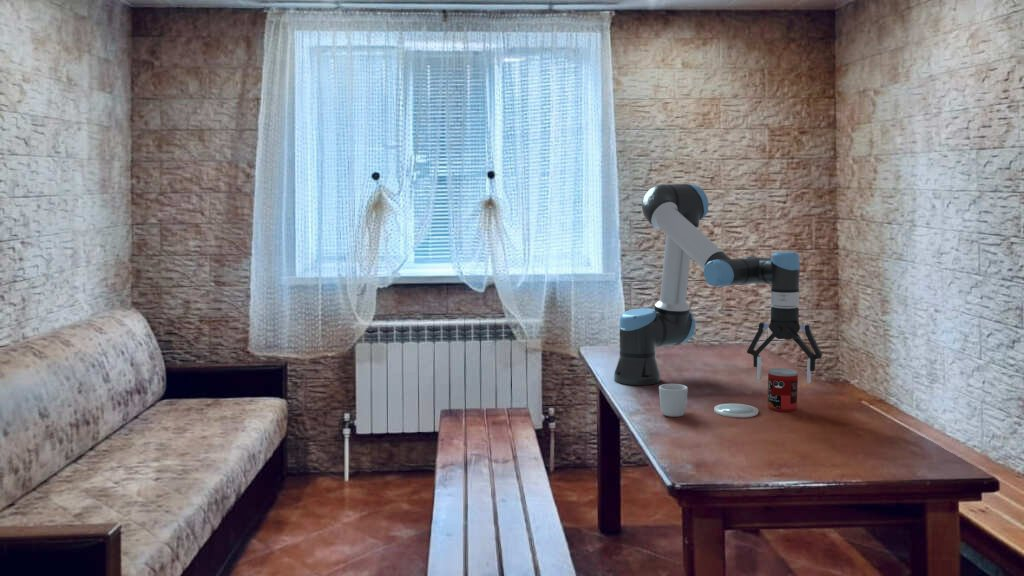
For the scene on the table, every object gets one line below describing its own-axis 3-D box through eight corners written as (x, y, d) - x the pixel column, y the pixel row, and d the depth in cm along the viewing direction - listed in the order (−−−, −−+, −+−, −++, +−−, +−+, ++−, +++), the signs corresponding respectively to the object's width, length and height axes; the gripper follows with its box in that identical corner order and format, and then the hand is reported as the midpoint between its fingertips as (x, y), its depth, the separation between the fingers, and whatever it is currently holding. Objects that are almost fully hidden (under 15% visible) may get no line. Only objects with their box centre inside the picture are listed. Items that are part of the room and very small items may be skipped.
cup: (669, 407, 238) (669, 380, 237) (695, 411, 233) (696, 383, 232) (653, 416, 229) (654, 387, 228) (680, 420, 224) (681, 391, 223)
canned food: (763, 405, 238) (764, 368, 237) (789, 404, 239) (790, 367, 238) (773, 412, 231) (774, 374, 229) (801, 411, 231) (802, 373, 230)
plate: (709, 414, 230) (709, 411, 229) (719, 404, 240) (720, 401, 240) (753, 419, 224) (753, 416, 224) (761, 409, 234) (762, 406, 234)
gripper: (737, 306, 234) (736, 379, 236) (830, 310, 222) (828, 386, 224) (742, 303, 240) (742, 374, 243) (833, 306, 229) (832, 381, 231)
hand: (783, 380), depth 233 cm, fingers open, 13 cm apart
